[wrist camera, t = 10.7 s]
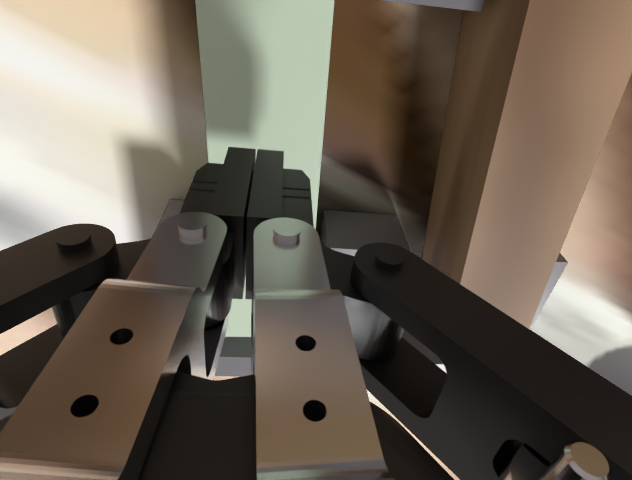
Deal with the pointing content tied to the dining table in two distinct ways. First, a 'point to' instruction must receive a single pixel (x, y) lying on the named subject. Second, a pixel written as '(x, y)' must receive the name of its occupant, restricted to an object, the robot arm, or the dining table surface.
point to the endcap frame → (354, 244)
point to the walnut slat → (523, 140)
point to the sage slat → (265, 89)
